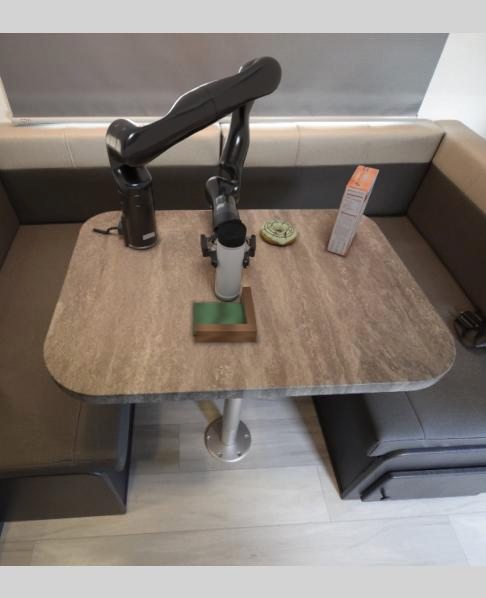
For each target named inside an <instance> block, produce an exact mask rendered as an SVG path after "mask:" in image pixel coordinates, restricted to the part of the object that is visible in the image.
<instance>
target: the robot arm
mask: <svg viewBox="0 0 486 598" xmlns="http://www.w3.org/2000/svg"><path fill="white" fill-rule="evenodd" d="M282 77H283V67H282V65H281V64H280V62H279V61H278V59H277V58H275V57H272V56H270V55H262V56H258V57H255V58H252V59H250V60H247V61H246V62H244V63H243V64H242V65H241V66H240V68H239V69H238V72H237V73H235V74H233V75H229V76H226V77H223V78H219V79H216V80H212V81H209V82H207V83H204V84H201V85H199V86H197V87H195V88H193V89H191V90H189V91H187V92H186V93H184V94H182V95H181V96H180V97H179V98H178V99H177V100H176V101H175V102H174V104H173V105H172V107H171V109H170V110H169V111H168V113H166V114H165V115H164V116H163V117H161V118H159V119H157V120H155V121H152V122H151V123H148V124H145V125H139V124H137V123H136V122H134V121H132V120H131V119H128V118H117V119H115V120H113V121H112V122H111V123H110V124H109V125H108V127H107V128H106V133H105V147H106V153H107V159H108V162H109V166H110V171H111V175H112V177H113V180H114V181H115V184H116V189H117V194H118V199H119V205H120V210H121V216H120V219H119V221H118V223H117V226H111V227H108V228H107V229H106V230H103V229H99V228H95V227H94V228H93V229H92V231H93V232H97V233H100V234H105V235H107V234H110V231H113V230H117V235H118V236H123V239H124V244H125V247H130V249H133V250H139V251H142V250H149V249H151V248H153V247H154V246H156V245H157V244H158V242H159V235H158V225H157V224H158V223H157V216H156V215H157V214H156V206H155V205H156V204H155V195H154V184H153V177H152V175H151V173H150V171H149V170H148V168H147V165H148V164H150V163H151V162H153V161H155V160H156V159H157V158H158V157H159V156H161V155H162V154H164V153H165V152H167V151H168V150H169V149H171V148H172V147H174V146H175V145H178V144H179V143H181V142H183V141H185V140H186V139H188V138H190V137H191V136H192V137H193V135H195V134H197V133H199V132H202V131H203V130H205V129H207V128H209V127H211V126H212V125H214V124H216V123H217V122H219V121H221V120H223V119H224V118H226V117H227V116H229V115H230V120H229V126H228V130H227V134H226V138H225V141H224V145H223V147H222V151H221V153H220V154H221V156H220V158H219V161H218V165H219V167H220V169H222V170H223V171H224V172H226V173H227V174H228V175H229V176H230V179H227V178H224V177H221V176H219V175H214V176H211V177H210V178H208V179H207V181H206V182H205V185H204V196H205V200H206V201H207V204H208V205H209V207H210V208H211V233H212V234H210V236H206V234H205V233H201V234H200V235H199V240H200V241H199V244H200V250H201V254H202V257H203V258H207V257H208V258H210V266H211V267H213V269H216V268H217V238H218V227H219V226H220V224H221V223H223V222H225V221H227V220H234V218H235V219H239V220H241V217H240V213H239V209H238V203H239V201H240V198H241V195H242V177H243V169H244V165H245V162H246V160H247V159H246V158H247V155H248V152H249V149H250V145H251V144H250V143H251V130H250V129H251V127H250V117H251V112H252V109H253V106H254V104H255V101H256V100H259V99H261V98H264V97H267V96H270V95H271V94H273V93H274V92H275V91H276V90H277V89H278V87H279V86H280V84H281V81H282ZM210 243H211V244H213V245H212V246H211V247H210V248H209V246H208V245H210ZM245 244H247V245H245V250H244V259H243V267H242V269H247V267H249V266H250V261H251V260H250V258H255V257H256V250H257V235H256V234H253V233H252V234H251V235H250V236H246V242H245ZM247 246H248V247H247Z"/></svg>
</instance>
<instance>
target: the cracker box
mask: <svg viewBox="0 0 486 598" xmlns="http://www.w3.org/2000/svg"><path fill="white" fill-rule="evenodd" d="M379 172H380V169H377V168H374V167H368V166H366V165H358V166H357V167H356V169H355V170H354V172H353V174H352V176H351V178H350V179H349V180H348V183H347V184H346V186H345V189H344V192H343V194H342V198H341V201H340V205H339V208H338V211H337V214H336V217H335V221H334V224H333V227H332V230H331V234H330V237H329V240H328V244H327V246H326V249H325V250H326V251H327V252H330V253H333V254H335V255H339V256H342V257H346V255H347V253H348V251H349V248H350V246H351V244H352V242H353V240H354V238H355V236H356V234H357V230H358V229H359V226H360V223H361V220H362V218H363V215H364V212H365V210H366V207H367V204H368V202H369V199H370V197H371V194H372V191H373V189H374V185H375V183H376V180H377V177H378V174H379Z"/></svg>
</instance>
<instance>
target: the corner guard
mask: <svg viewBox="0 0 486 598" xmlns="http://www.w3.org/2000/svg"><path fill="white" fill-rule="evenodd" d="M240 300H241V302H193V328H192V329H193V334H192V335H193V336H195V343H255V342H256V341H257V340H256V339H257V336H258V324H257V319H256V318H257V317H256V312H255V306H254V299H253V292H252V287H251V286H242V289H241V297H240Z"/></svg>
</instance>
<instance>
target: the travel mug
mask: <svg viewBox="0 0 486 598" xmlns="http://www.w3.org/2000/svg"><path fill="white" fill-rule="evenodd" d="M242 221H243V220H242V219H240V220H239V219H235V218H234V220H227V221H225V222H223V223H221V224H220V226H219V227H218V238H217V268H215V278H214V279H215V280H214V283H215V284H214V294H215V297H217V298H218V299H219V300H221V301H224V302H231V301H234V300H236V299H237V298H238V297H239V296H240V291H241V282H242V275H243V259H244V250H245V246H246V237H247V230H248V228H247V226H246V224H245V223H244V222H242Z"/></svg>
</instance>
